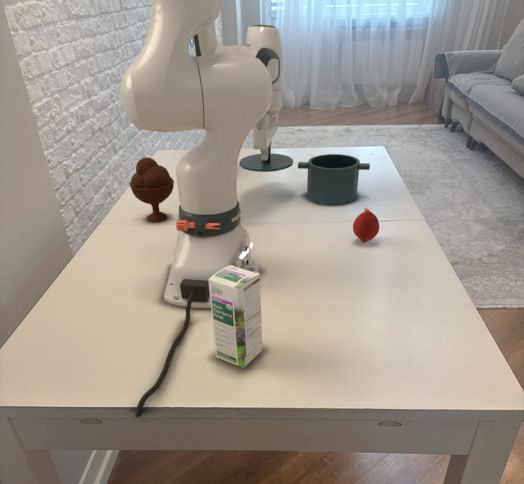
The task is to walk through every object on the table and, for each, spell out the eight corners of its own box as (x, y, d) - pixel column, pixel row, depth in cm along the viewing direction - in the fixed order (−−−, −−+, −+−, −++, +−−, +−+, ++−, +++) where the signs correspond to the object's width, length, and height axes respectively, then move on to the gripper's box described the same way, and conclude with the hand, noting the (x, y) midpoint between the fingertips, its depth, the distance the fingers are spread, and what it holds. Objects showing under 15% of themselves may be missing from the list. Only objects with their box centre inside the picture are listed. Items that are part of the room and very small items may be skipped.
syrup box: (214, 357, 80) (205, 278, 71) (236, 339, 83) (230, 262, 75) (243, 369, 77) (237, 289, 68) (264, 350, 81) (261, 271, 72)
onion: (376, 237, 114) (380, 203, 110) (378, 247, 110) (382, 213, 105) (351, 236, 115) (353, 203, 110) (352, 247, 110) (355, 213, 106)
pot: (366, 206, 130) (370, 170, 124) (295, 204, 133) (295, 168, 127) (366, 189, 140) (369, 154, 135) (300, 187, 143) (300, 153, 137)
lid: (289, 174, 127) (289, 156, 124) (234, 173, 129) (233, 155, 126) (295, 158, 138) (296, 140, 135) (245, 157, 140) (244, 139, 137)
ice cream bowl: (128, 225, 125) (116, 164, 115) (149, 209, 133) (139, 151, 124) (166, 229, 122) (156, 167, 113) (184, 212, 130) (177, 153, 121)
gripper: (271, 110, 115) (272, 170, 124) (282, 93, 131) (282, 147, 140) (244, 110, 116) (247, 169, 125) (259, 93, 132) (260, 147, 141)
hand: (266, 157), depth 132 cm, fingers closed on lid, 2 cm apart
